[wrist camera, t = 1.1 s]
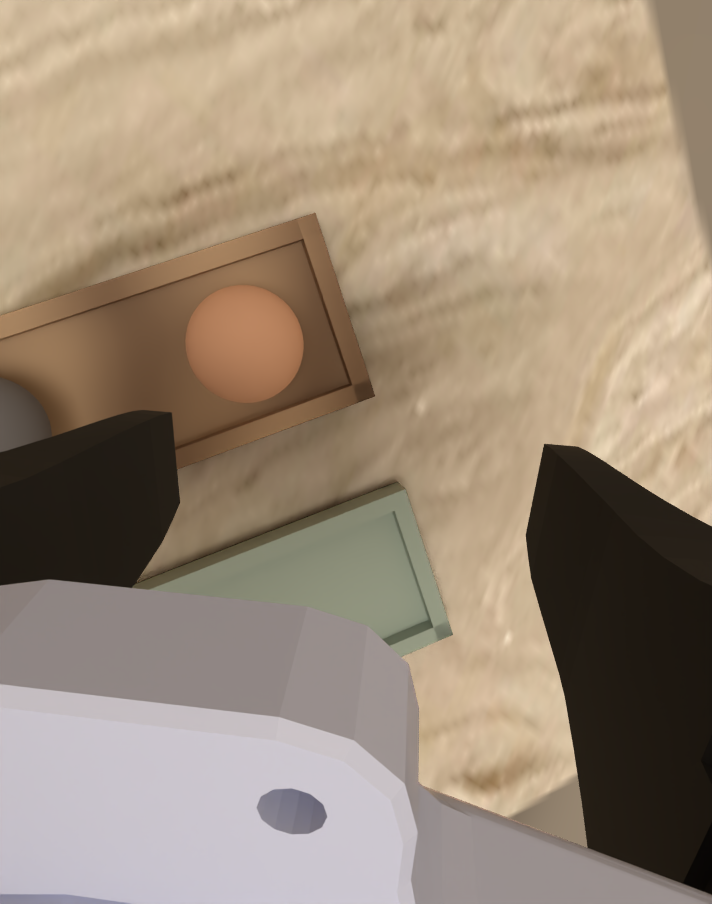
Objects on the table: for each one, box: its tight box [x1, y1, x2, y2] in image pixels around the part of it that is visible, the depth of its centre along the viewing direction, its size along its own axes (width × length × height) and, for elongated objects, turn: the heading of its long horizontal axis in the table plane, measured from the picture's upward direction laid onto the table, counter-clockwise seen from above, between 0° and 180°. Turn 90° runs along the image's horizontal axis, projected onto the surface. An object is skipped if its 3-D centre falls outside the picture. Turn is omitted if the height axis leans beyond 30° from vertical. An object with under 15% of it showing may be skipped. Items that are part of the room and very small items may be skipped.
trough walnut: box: [0, 213, 375, 469], centre depth 23 cm, size 17×7×1 cm, turn 109°
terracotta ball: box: [185, 285, 304, 403], centre depth 21 cm, size 4×4×4 cm
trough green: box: [132, 482, 453, 657], centre depth 25 cm, size 17×7×1 cm, turn 109°
